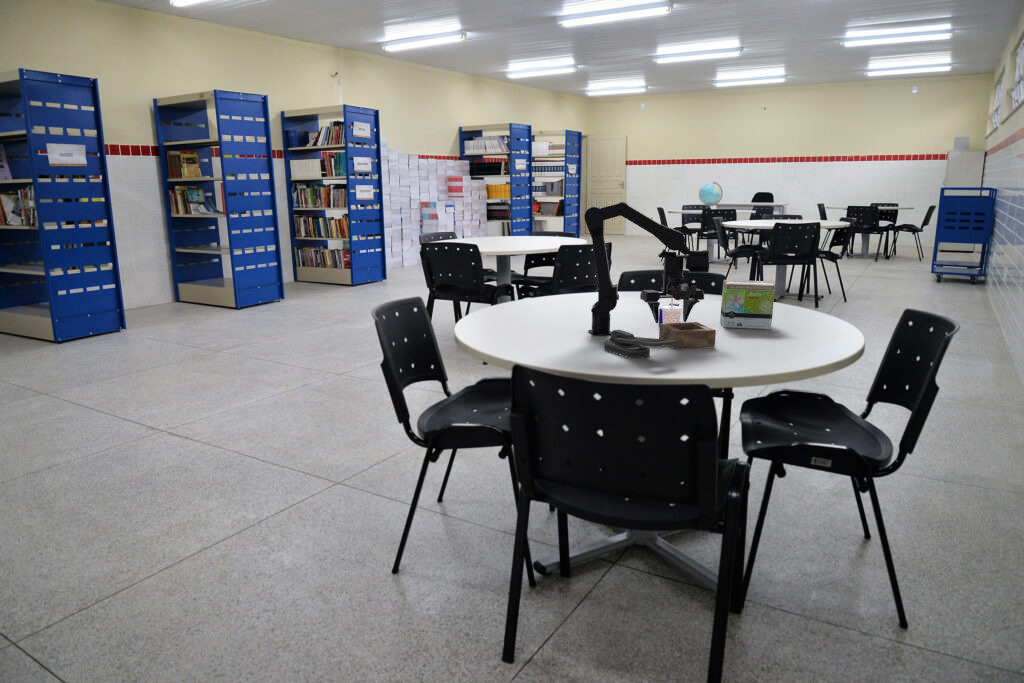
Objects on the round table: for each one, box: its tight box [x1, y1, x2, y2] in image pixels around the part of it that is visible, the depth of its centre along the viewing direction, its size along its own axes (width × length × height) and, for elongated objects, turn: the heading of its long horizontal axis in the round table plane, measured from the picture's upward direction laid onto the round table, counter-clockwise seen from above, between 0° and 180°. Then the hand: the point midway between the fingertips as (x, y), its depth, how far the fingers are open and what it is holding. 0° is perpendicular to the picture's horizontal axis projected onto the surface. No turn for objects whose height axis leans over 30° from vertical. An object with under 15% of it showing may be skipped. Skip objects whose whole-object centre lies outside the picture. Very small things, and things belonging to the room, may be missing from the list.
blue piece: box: [658, 302, 680, 327], centre depth 228 cm, size 12×4×6 cm, turn 150°
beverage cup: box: [661, 298, 683, 324], centre depth 209 cm, size 6×6×14 cm
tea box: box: [719, 279, 776, 331], centre depth 222 cm, size 15×10×15 cm
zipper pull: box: [603, 329, 677, 359], centre depth 185 cm, size 9×7×25 cm
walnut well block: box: [658, 321, 717, 350], centre depth 199 cm, size 12×12×5 cm
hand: (670, 322), depth 209 cm, fingers open, 9 cm apart
